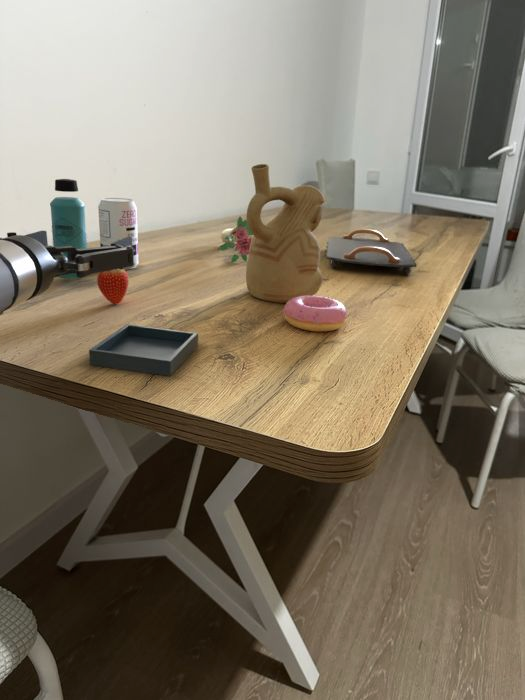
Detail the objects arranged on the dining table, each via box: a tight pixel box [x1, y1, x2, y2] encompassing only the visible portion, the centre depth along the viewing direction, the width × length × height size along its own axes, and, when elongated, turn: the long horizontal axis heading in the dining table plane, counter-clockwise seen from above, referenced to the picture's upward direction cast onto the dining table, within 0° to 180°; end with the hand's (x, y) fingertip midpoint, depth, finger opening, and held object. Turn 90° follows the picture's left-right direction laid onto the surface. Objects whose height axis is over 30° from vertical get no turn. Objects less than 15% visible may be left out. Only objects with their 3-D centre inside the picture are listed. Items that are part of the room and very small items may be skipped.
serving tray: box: [325, 228, 417, 276], centre depth 144 cm, size 39×23×6 cm, turn 172°
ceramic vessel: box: [245, 163, 326, 304], centre depth 101 cm, size 17×20×25 cm
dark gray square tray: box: [88, 323, 199, 377], centre depth 72 cm, size 11×11×2 cm
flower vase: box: [217, 215, 254, 264], centre depth 136 cm, size 12×12×35 cm
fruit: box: [96, 267, 130, 305], centre depth 92 cm, size 5×5×8 cm
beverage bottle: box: [49, 178, 89, 280], centre depth 101 cm, size 6×7×20 cm
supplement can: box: [97, 197, 139, 271], centre depth 117 cm, size 8×8×15 cm
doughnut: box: [283, 295, 348, 332], centre depth 88 cm, size 11×11×4 cm
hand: (87, 242), depth 80 cm, fingers open, 13 cm apart
